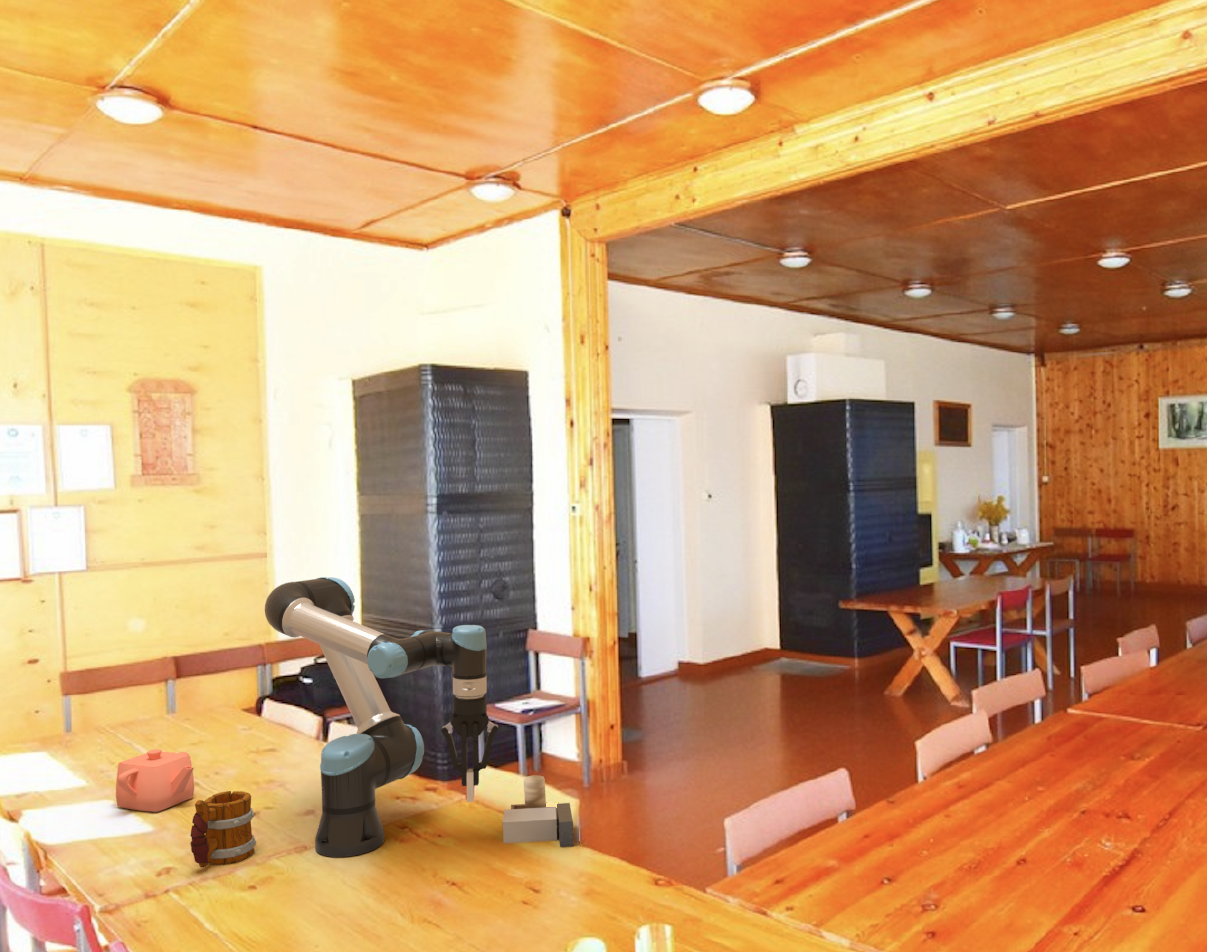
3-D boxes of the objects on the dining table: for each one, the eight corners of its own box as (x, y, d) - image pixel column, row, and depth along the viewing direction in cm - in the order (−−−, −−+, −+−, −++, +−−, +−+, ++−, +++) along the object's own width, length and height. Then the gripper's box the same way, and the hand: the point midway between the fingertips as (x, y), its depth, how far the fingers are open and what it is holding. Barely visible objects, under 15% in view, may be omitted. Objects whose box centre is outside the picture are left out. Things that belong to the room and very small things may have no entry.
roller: (528, 821, 222) (526, 784, 222) (523, 813, 227) (521, 777, 226) (548, 818, 223) (546, 780, 223) (543, 810, 228) (541, 774, 228)
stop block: (560, 847, 207) (559, 822, 207) (557, 827, 219) (556, 803, 219) (573, 846, 207) (572, 821, 207) (570, 826, 219) (569, 802, 219)
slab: (503, 844, 210) (502, 822, 210) (504, 831, 218) (504, 809, 218) (557, 841, 211) (556, 819, 211) (556, 828, 219) (555, 806, 219)
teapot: (98, 815, 237) (96, 760, 237) (168, 787, 258) (166, 737, 258) (156, 823, 230) (155, 766, 230) (224, 794, 250) (222, 742, 250)
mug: (266, 848, 211) (264, 781, 212) (214, 878, 196) (212, 806, 196) (227, 843, 215) (225, 778, 215) (173, 872, 199) (171, 802, 200)
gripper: (439, 700, 207) (439, 806, 207) (498, 698, 208) (499, 804, 208) (441, 691, 214) (442, 795, 214) (499, 690, 215) (499, 792, 216)
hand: (470, 799), depth 211 cm, fingers closed
